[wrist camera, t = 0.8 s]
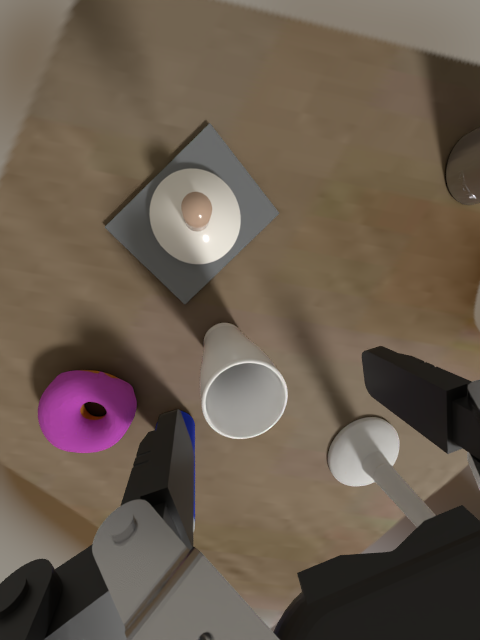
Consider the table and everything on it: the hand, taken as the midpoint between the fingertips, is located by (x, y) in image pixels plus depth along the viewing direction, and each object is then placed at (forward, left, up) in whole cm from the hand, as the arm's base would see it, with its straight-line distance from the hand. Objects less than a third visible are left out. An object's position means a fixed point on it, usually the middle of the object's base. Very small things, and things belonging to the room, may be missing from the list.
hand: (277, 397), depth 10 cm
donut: (+20, -3, -23) cm, 30 cm away
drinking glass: (+3, +3, -23) cm, 23 cm away
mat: (-5, -10, -22) cm, 25 cm away
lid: (-5, -10, -22) cm, 24 cm away
